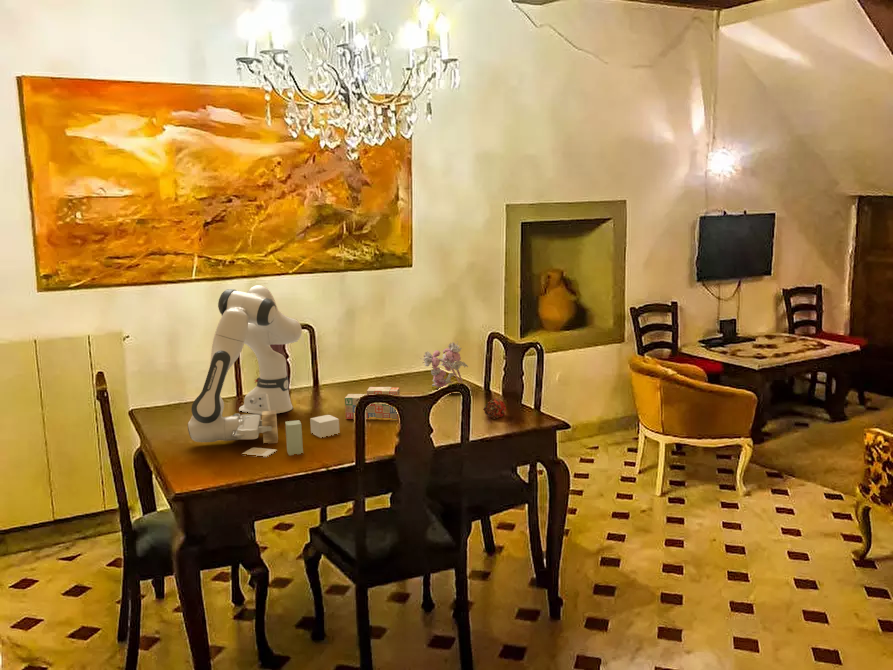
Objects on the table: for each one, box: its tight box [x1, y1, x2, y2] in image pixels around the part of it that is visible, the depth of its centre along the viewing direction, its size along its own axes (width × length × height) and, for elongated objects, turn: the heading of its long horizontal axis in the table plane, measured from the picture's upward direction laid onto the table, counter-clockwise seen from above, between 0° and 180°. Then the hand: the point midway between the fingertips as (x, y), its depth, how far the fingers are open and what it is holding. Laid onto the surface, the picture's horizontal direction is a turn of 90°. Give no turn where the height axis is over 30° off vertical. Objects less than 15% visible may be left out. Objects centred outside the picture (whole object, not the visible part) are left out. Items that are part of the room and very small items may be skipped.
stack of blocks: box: [344, 386, 401, 421], centre depth 345 cm, size 21×6×12 cm, turn 82°
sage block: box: [285, 419, 304, 456], centre depth 305 cm, size 5×5×11 cm
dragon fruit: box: [483, 397, 507, 420], centre depth 341 cm, size 8×8×12 cm
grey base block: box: [309, 414, 341, 439], centre depth 327 cm, size 8×8×6 cm
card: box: [241, 446, 278, 458], centre depth 306 cm, size 10×7×1 cm
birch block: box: [261, 410, 279, 444], centre depth 318 cm, size 5×5×11 cm
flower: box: [419, 341, 469, 389], centre depth 382 cm, size 20×22×25 cm
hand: (272, 425), depth 318 cm, fingers closed on birch block, 5 cm apart
